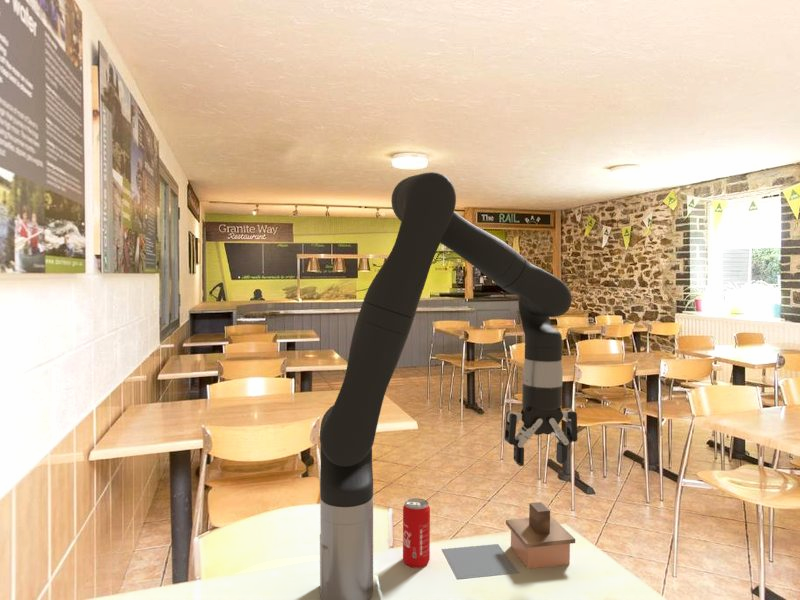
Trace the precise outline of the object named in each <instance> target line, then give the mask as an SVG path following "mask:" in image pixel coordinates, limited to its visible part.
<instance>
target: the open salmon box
mask: <svg viewBox="0 0 800 600" xmlns="http://www.w3.org/2000/svg"><path fill="white" fill-rule="evenodd" d="M510 547H511V549H512V550H513V551H514V552H515V554H516V555H517V556H518V557H519V559H520V560H521V561H522V563H523V564H524V565H525V567H526V568H527V569H534V568H535V569H536V568H545V567H547V568H548V567H555V566H565V565H570V563H571V562H570V559H571V558H570V557H571V556H570V555H571V544H561V545H551V546H541V547H530V548H526V547H525V546H524V545H523V544H522V543H521V541H520V540H519V539H518V538H517V537H516V535H515V534H514V533H513V532H512V531H511V530H510Z"/></svg>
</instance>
